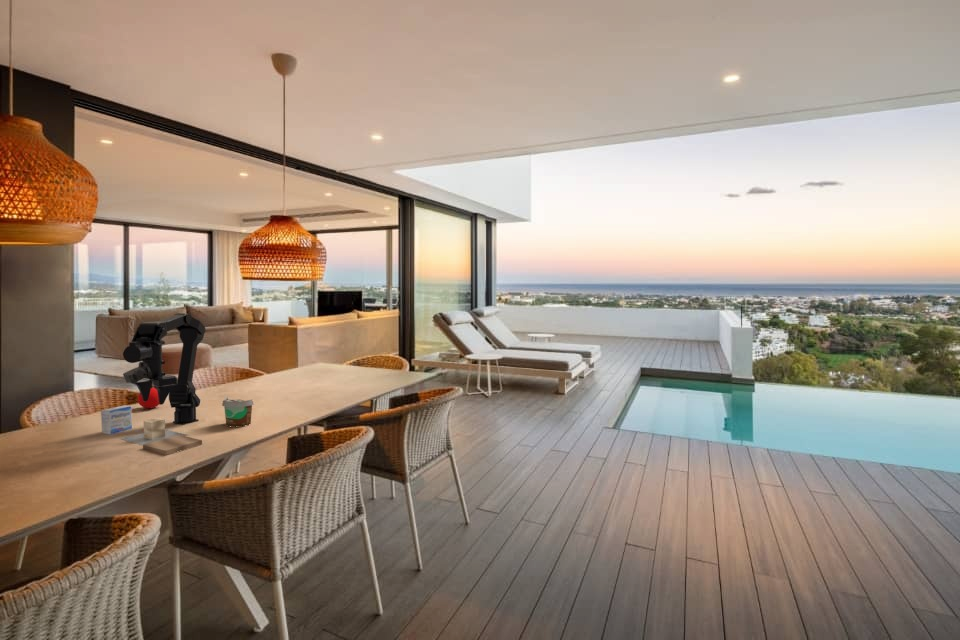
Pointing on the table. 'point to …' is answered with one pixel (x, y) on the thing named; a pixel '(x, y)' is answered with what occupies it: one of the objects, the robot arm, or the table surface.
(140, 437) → the tile
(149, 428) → the maple block
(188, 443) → the walnut board
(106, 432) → the medicine box
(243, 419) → the food container
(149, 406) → the ornament
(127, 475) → the table surface
